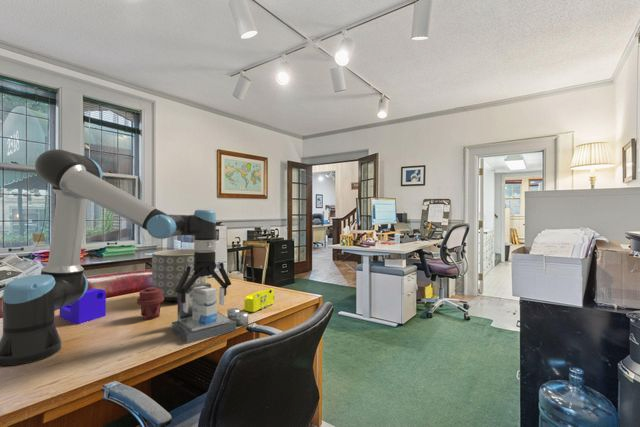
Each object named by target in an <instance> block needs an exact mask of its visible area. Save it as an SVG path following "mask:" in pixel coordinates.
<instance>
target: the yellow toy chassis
mask: <svg viewBox="0 0 640 427" xmlns="http://www.w3.org/2000/svg"><path fill="white" fill-rule="evenodd" d="M272 304H275V289H274V288H272V287H271V288H268V289H266V290H265V289H261V290H260V291H256V292H253V293H250V294H248V295H246V296H245V299H244V307H243V308H244V311H245V312H248V313H249V312H250V313H255V312H258V311H259V310H264V309H266V308H268V307H269V306H271V305H272Z"/></svg>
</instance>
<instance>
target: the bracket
mask: <svg viewBox="0 0 640 427" xmlns="http://www.w3.org/2000/svg"><path fill="white" fill-rule="evenodd" d="M106 299H107V293H106V291H105V290H104V289H102V288H90V289H87V291H86V293H85V294H84V295H83V297H81V298H80V299H79V300H77V301H76V302H74V303H73V304H71V305H68V306H65V307H62V308H60V309H59V318H61V319H63V320H65V321H66V322H68V323H70V324H73V323H75V325H82V324H85V323H88V322H91V321H93V320H98V319H99V318H103V317H106V316H107V310H106V309H107V302H106V301H107V300H106ZM87 321H88V322H87ZM84 322H85V323H84ZM81 323H82V324H81Z"/></svg>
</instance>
